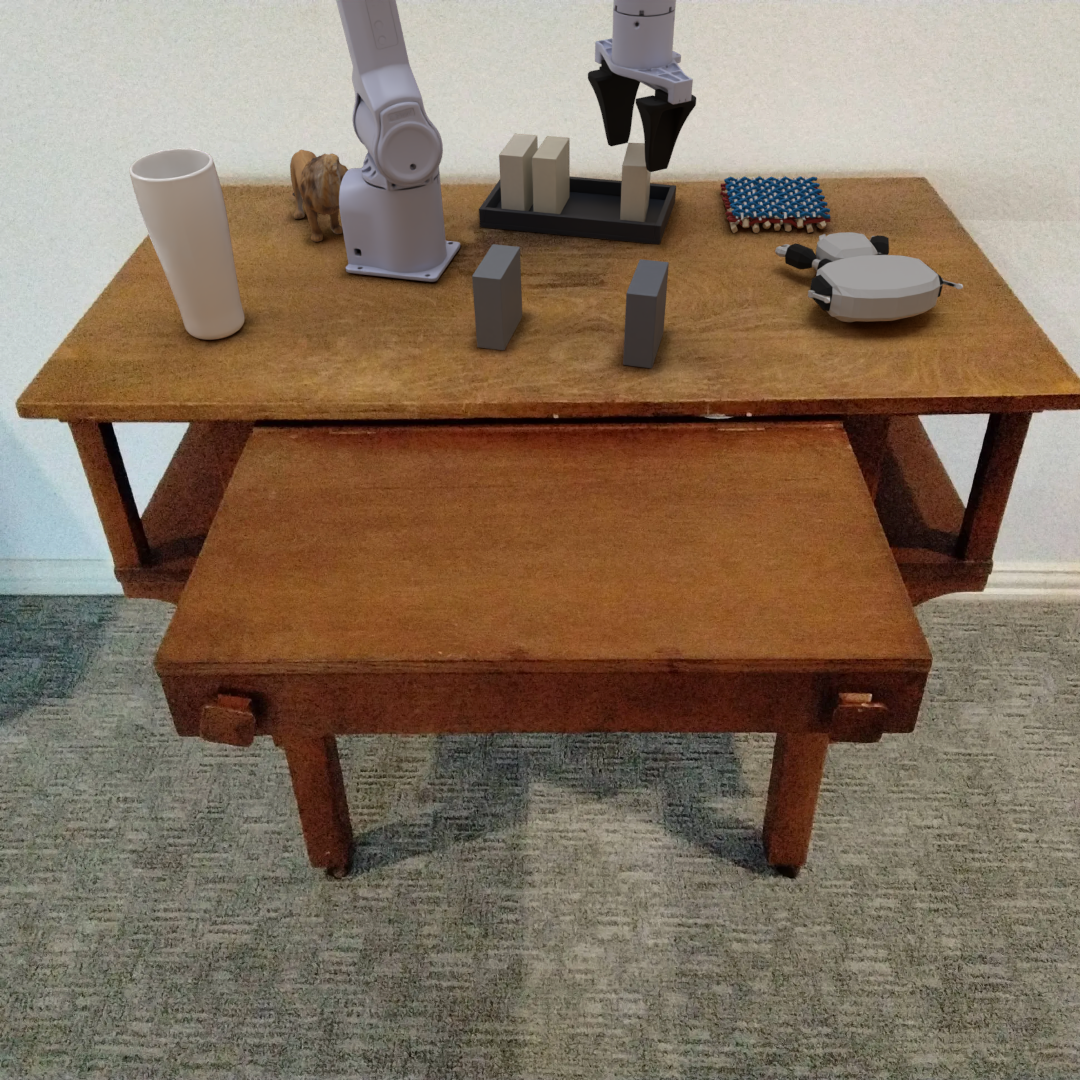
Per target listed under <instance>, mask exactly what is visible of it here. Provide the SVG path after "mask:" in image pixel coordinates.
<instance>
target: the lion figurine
mask: <svg viewBox="0 0 1080 1080" xmlns="http://www.w3.org/2000/svg"><path fill="white" fill-rule="evenodd" d="M290 159H291V160H290V165H289V167H290V168H289V170H290V171H289V172H290V173H289V174H290V181H291V185H292V186H291V187H292V190H293V192H292V196H293V197H294V203H295V210H294V213H293V218H294V220H295V219H296V220H300V219H303V218H305V216H306V217H307V220H308V224H309V228H310V231H311V235H310V240H311V241H312V242H313V243H314V242H316V243H318V242H321V241H323V240H324V238H323V231H322V229H321V227H320V223H319V220H318V214H320V215H321V216H326V215H328V216H329V228H330V230H331V231H332V232H333V233H334V234H335V235H342V234H343V228H342V225H340V220H339V216H340V209H339V192H340V185H341V182H342V179H343V177H344V175H345V173H346V172H347V171H348V170H349V169H348V167H347V166H346V165H344V164H342V163H341V161H340V157H339V156H338V155H337V154H335V153H323V154H321V155H318V156H317V155H316V154H315V153H314V152H312V151H309V150H307V149H306V150H305V149H300V150H298V151H297V152H295V153H293V155H292V157H291V158H290ZM303 204H304V205H303ZM304 210H305V211H304ZM305 214H306V215H305Z"/></svg>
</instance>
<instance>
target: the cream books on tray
mask: <svg viewBox="0 0 1080 1080" xmlns="http://www.w3.org/2000/svg"><path fill="white" fill-rule="evenodd" d="M570 141H571V140H570V137H568V136H552V135H546V136H545V137H544V139H543V141H542V142H541V143H540V145H538V142H539V141H538V134H528V133H518V132H517V133H513V135H512V137H511V138H510V139H509V141H508V142H507V143H506V145H505V146H504V148H502V150H501V151H500V153H499V154H498V159H499V160H498V162H499V164H498V165H499V180H500V184H501V205H502V209H510V210H521V211H529V209H530V208H531V206H532V205H533V208H534V212H543V213H553V214H560V213H561V212H562V210H563V208H564V206H565V204H566V203H567V201H568V199H569V196H570V173H571V172H570V169H571V168H570V165H571V164H570V163H571V162H570V159H571V158H570V153H571V152H570V149H571V148H570Z"/></svg>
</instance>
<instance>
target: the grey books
mask: <svg viewBox="0 0 1080 1080" xmlns="http://www.w3.org/2000/svg"><path fill="white" fill-rule="evenodd" d="M521 265H522V264H521V246H514V245H505V244H495V243H493V244H491V246H490V247H489V249H488V250H487V252H486V254H485V255H484V257H483V259H482V260H481V262H480V263H479V265H478V266H477V267H476V269H475V271H474V272H473V274H472V275H471V282H472V295H473V297H472V298H473V308H474V321H475V335H476V348H481V349H490V350H498V351H505V350H506V348H507V347H508V344H509V343H510V341H511V339H512V338H513V335H514V333H515V331H516V329H517V328H518V325H519V324H520V322H521V320H522V318H523V296H522V295H523V294H522V293H523V292H522V270H521V269H522V266H521ZM668 277H669V261H661V260H652V259H651V260H650V259H642V258H641V259H639V260H638V262H637V265H636V268H635V271H634V272H633V275H632V278H631V280H630V283H629V285H628V288H627V291H626V295H625V313H624V315H625V316H624V334H623V335H624V340H623V361H622V364H623V366H628V367H635V368H645V369H653V367H654V364H655V360H656V357H657V354H658V352H659V348H660V344H661V341H662V338H663V336H664V331H665V320H666V319H665V317H666V303H667V291H668Z"/></svg>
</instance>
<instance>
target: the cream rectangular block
mask: <svg viewBox="0 0 1080 1080" xmlns="http://www.w3.org/2000/svg"><path fill="white" fill-rule="evenodd" d="M621 167H622V168H621V181H622V186H621V212H620V220H628V221H639V222H645V220H646V215H647V211H648V206H649V193H650V183H651V174H652V172H649V171H648V170H647V168H646V163H645V142H628V143H627V146H626V150H625V153H624V158H623V161H622V165H621Z"/></svg>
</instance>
